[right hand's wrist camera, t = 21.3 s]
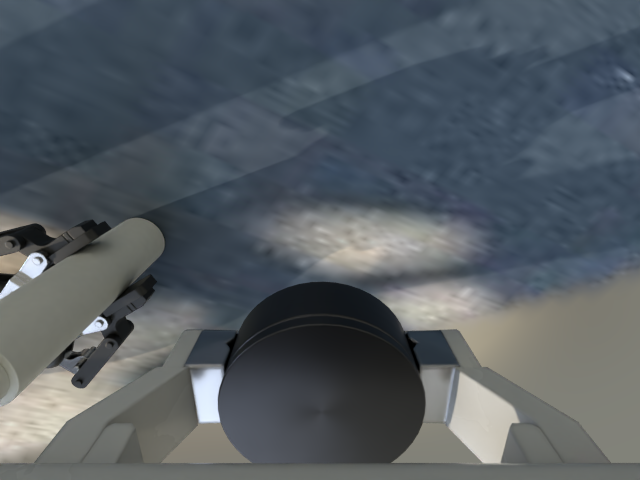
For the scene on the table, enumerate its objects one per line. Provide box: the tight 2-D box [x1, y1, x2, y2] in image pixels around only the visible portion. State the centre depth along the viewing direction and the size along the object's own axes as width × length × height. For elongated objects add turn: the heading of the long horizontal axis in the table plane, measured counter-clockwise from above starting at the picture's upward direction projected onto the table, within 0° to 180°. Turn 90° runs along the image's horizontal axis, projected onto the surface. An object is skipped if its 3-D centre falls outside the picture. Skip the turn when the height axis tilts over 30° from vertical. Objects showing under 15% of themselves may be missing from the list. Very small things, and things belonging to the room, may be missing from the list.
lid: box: [218, 282, 426, 463], centre depth 9 cm, size 5×5×2 cm
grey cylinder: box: [0, 218, 165, 407], centre depth 24 cm, size 4×4×18 cm
